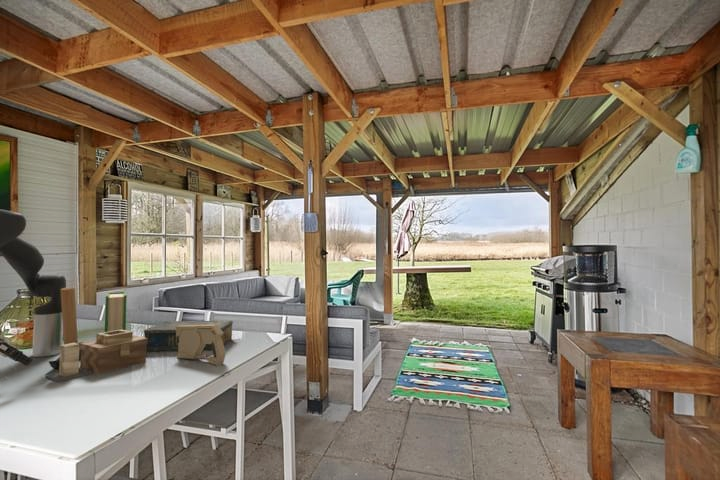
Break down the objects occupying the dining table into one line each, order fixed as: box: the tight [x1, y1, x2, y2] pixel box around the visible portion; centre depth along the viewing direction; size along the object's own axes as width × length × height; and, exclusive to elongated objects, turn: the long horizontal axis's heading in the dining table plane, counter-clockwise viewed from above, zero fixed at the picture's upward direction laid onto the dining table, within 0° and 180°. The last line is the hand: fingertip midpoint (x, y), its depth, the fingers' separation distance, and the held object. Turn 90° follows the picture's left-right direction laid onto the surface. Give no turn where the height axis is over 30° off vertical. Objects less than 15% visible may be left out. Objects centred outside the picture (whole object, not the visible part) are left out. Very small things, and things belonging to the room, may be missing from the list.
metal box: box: [143, 320, 234, 353], centre depth 158 cm, size 21×32×10 cm, turn 95°
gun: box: [176, 325, 226, 366], centre depth 135 cm, size 24×3×15 cm, turn 65°
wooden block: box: [58, 343, 80, 377], centre depth 118 cm, size 4×4×10 cm
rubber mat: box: [45, 367, 92, 383], centre depth 118 cm, size 10×9×1 cm
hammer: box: [48, 286, 84, 369], centre depth 131 cm, size 20×5×30 cm, turn 18°
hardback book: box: [104, 291, 128, 332], centre depth 156 cm, size 18×7×24 cm, turn 35°
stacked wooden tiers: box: [79, 329, 148, 375], centre depth 130 cm, size 15×17×12 cm
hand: (24, 360), depth 109 cm, fingers open, 8 cm apart
